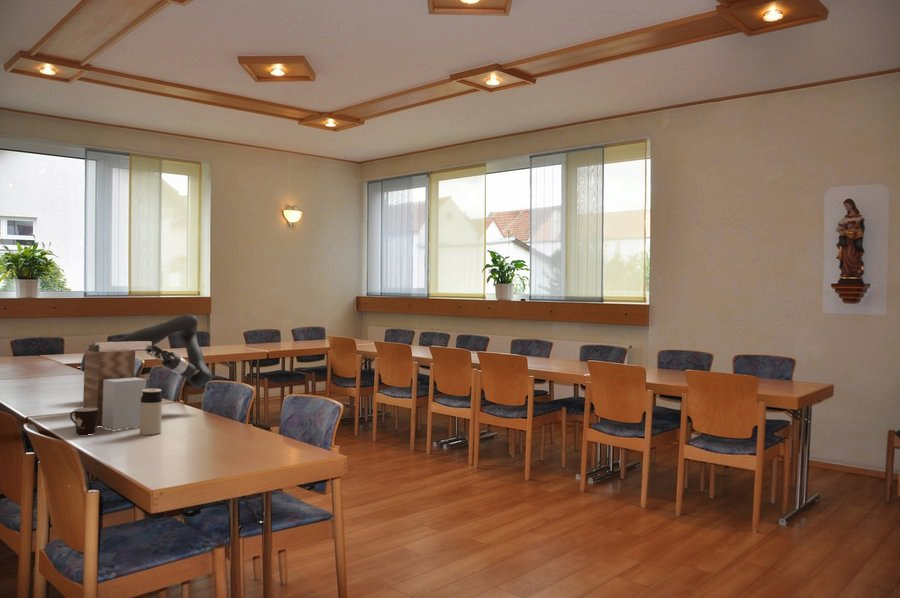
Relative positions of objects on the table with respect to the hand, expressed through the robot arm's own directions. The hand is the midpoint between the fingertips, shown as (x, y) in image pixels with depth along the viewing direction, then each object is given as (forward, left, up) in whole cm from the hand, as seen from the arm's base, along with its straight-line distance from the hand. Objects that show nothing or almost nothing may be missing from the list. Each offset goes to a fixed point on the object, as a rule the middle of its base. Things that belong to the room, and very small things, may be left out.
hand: (148, 347), depth 315 cm
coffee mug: (-11, -36, -33) cm, 50 cm away
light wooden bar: (-7, -9, -1) cm, 12 cm away
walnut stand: (-11, -13, -33) cm, 37 cm away
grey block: (-1, -22, -33) cm, 39 cm away
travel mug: (+14, -33, -33) cm, 49 cm away
